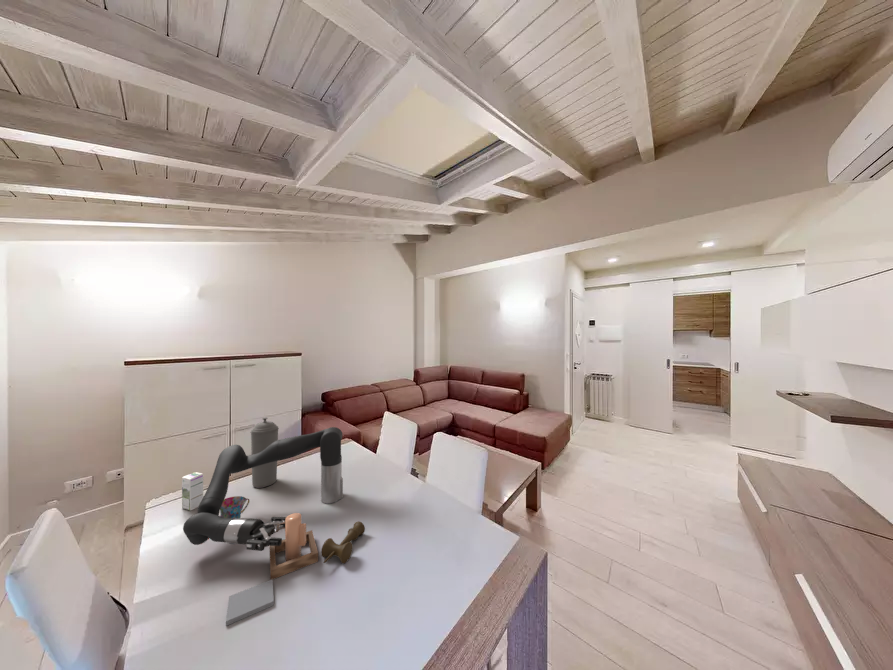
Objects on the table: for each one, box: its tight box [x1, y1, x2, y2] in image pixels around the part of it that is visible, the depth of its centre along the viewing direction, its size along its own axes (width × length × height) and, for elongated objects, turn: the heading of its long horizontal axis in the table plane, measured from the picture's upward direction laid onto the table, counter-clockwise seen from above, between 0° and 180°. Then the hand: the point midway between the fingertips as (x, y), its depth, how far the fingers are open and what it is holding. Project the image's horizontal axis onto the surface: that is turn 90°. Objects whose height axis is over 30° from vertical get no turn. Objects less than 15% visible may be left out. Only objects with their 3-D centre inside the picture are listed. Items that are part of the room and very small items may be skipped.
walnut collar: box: [269, 529, 319, 580], centre depth 101 cm, size 14×14×3 cm
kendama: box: [320, 521, 366, 564], centre depth 104 cm, size 6×10×20 cm
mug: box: [219, 495, 251, 519], centre depth 117 cm, size 12×9×11 cm
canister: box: [250, 417, 279, 489], centre depth 153 cm, size 13×13×35 cm
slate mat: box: [225, 579, 275, 626], centre depth 84 cm, size 11×9×1 cm
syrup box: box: [181, 471, 205, 512], centre depth 132 cm, size 6×6×14 cm
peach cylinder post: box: [284, 512, 307, 562], centre depth 101 cm, size 7×5×14 cm
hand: (288, 533), depth 100 cm, fingers open, 8 cm apart
